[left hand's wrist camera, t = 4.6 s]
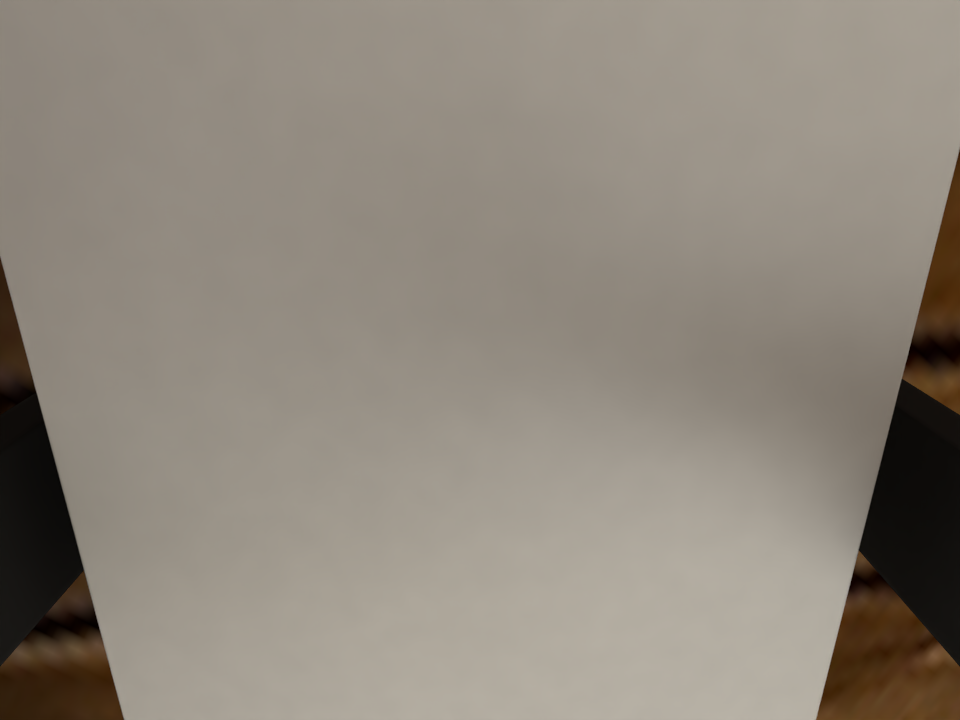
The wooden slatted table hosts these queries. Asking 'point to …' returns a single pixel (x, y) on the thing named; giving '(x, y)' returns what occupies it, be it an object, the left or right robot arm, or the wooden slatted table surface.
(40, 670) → the wooden slatted table surface
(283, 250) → the cabinet
